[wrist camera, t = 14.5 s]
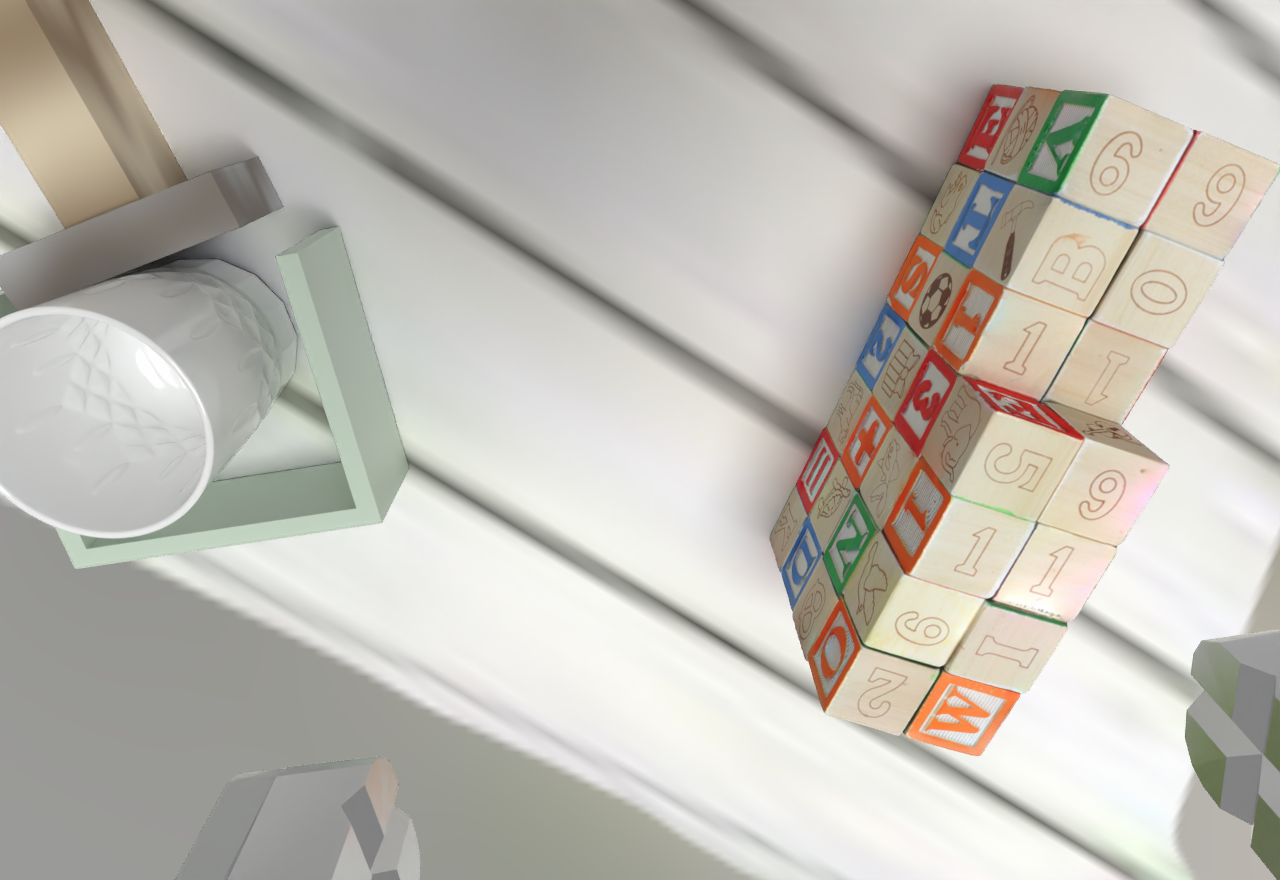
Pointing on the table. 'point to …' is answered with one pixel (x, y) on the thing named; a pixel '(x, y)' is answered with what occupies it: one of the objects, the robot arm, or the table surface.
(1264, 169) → the stack of blocks
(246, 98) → the table surface
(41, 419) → the white cup
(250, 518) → the box
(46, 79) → the scraper
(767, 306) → the table surface
